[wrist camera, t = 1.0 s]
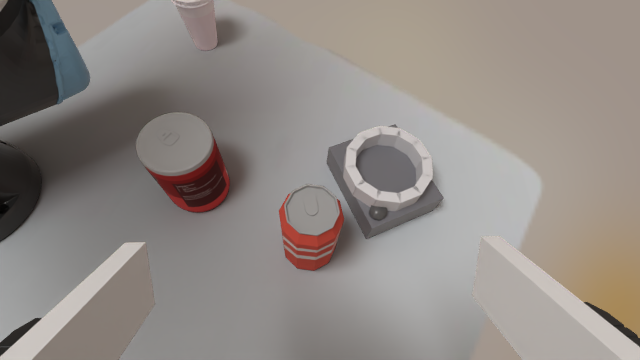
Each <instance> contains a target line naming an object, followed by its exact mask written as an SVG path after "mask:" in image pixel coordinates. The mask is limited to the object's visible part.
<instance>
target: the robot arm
mask: <svg viewBox="0 0 640 360" xmlns="http://www.w3.org/2000/svg"><path fill="white" fill-rule="evenodd" d="M89 83H90V74H89V71H88V69H87V67H86V65H85V63H84V61H83V59H82V57H81V55H80V53H79V51H78V49H77V47H76V45H75V43H74V41H73V40H72V38H71V36H70V34H69V32H68V31H67V29H66V28H65V26H64V23H63V21H62V19H61V18H60V16H59V13H58V12H57V10H56V8H55V6H54V4H53V2H52V1H51V0H0V126H2V125H4V124H7V123H9V122H12V121H15V120H17V119H20V118H22V117H25V116H28V115H30V114H33V113H35V112H38V111H40V110H43V109H46V108H48V107H51V106H53V105H56V104H60V103H62V102H63V100H65V99H67V98H69V97H71V96H73V95H75V94H77V93H79V92H81V91H83V90H85V89H86V88H87V86H88V85H89ZM40 189H41V174H40V171H39V168H38V166H37V164H36V163H35V162H34V160H33V159H32V158H30V157H29V156H28V155H27V154H25V153H24V152H23V151H21V150H20V149H19V148H17V147H15V146H14V145H12V144H10V143H7V142H4V141H1V140H0V241H1V240H2V239H4V238H5V237H7V236H8V235H9V234H11V233H12V232H13V231H14V230H15V229H16V228H17V227H19V226H20V224H21V223H22V222H23V221H24V220H25V219H26V218H27V216H28V215H29V214H30V212H31V211H32V209H33V207H34V206H35V204H36V202H37V199H38V197H39V194H40ZM472 296H473V298H474V299H475V300H476V302H477V303H478V304H479V305H480V307H481V308H482V309H483V310H484V312H485V313H486V314H487V316H488V317H489V318H490V319H491V321H492V322H493V323H494V324H495V326H496V327H497V328H498V330H499V331H500V332H501V333H502V335H503V336H504V337H505V339H506V340H507V341H508V342H509V344H510V345H511V346H512V347H513V349H514V350H515V351H516V352H517V354H518V355H519V356H520V358H521V359H522V360H640V338H638V336H637V335H636V334H635V333H634V332H632V331H631V330H630V329H628V328H625V327H624V325H623V324H622V323H620V322H619V321H618V320H617V319H615V318H614V317H613V316H611V315H610V314H609V313H607V312H605V311H603V310H602V309H599V308H598V307H596V306H594V305H592V304H590V303H588V302H582V301H581V300H580V299H578V298H577V297H576V296H575V295H573V294H572V293H571V292H569V291H568V290H567V289H566V288H565V287H563V286H562V285H561V284H559V283H558V282H557V281H556V280H554V279H553V278H552V277H551V276H549V275H548V274H547V273H546V272H544V271H543V270H542V269H540V268H539V267H538V266H537V265H535V264H534V263H533V262H532V261H530V260H529V259H528V258H527V257H525V256H524V255H523V254H522V253H520V252H519V251H518V250H517V249H515V248H514V247H513V246H511V245H510V244H509V243H508V242H506V241H505V240H504V239H503V238H501V237H500V236H481V239H480V246H479V253H478V260H477V267H476V273H475V280H474V287H473V294H472ZM154 305H155V301H154V295H153V288H152V281H151V274H150V268H149V261H148V254H147V248H146V242H130V243H124V244H123V245H122V246H121V247H120V248H119V249H118V250H116V251H115V252H114V253H113V254H112V255H111V256H110V257H109V258H108V259H107V260H106V261H104V262H103V263H102V264H101V265H100V266H99V267H98V268H97V269H96V270H95V271H93V272H92V273H91V274H90V275H89V276H88V277H87V278H86V279H85V280H84V281H83V282H81V283H80V284H79V285H78V286H77V287H76V288H75V289H74V290H73V291H72V292H70V293H69V294H68V295H67V296H66V297H65V298H64V299H63V300H62V301H61V302H60V303H58V304H57V305H56V306H55V307H54V308H53V309H52V310H51V311H50V312H49V313H47V314H46V315H45V316H44V317H43V318H35V319H33V320H32V321H30V322H28V323H27V324H25V325H23V326H21V327H20V328H18V329H16V330H14V331H13V332H12V333H11V334H10V335H9V336H7V337H6V338H5V339H4V340H3V341H2V342H0V360H118V359H119V358H120V356H121V355H122V353H123V352H124V350H125V349H126V347H127V346H128V344H129V343H130V341H131V340H132V338H133V337H134V335H135V334H136V332H137V331H138V329H139V328H140V326H141V325H142V323H143V322H144V320H145V319H146V317H147V316H148V314H149V313H150V311H151V310H152V308H153V306H154Z"/></svg>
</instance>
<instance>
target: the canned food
mask: <svg viewBox="0 0 640 360" xmlns="http://www.w3.org/2000/svg"><path fill="white" fill-rule="evenodd" d="M136 152H137V154H138V157H139V159H140V161H141V162H142V163H143V165H144V166H145V167H146V169H147V170H148V171H149V173H150V174H151V175H152V176H153V177H154V179H155V180H156V181H157V182H158V184H159V185H160V186H161V187H162V189H163V190H164V191H165V192H166V193H167V195H168V196H169V197H170V198H171V200H172V201H173V202H174V203H175V204H176V205H177V206H178V207H180V208H182V209H184V210H187V211H191V212H205V211H209V210H211V209H214V208H215V207H217V206H218V205H220V204H221V203H222V202H223V200H224V199H225V197H226V196H227V193H228V190H229V185H230V181H229V176H228V173H227V170H226V168H225V165H224V162H223V160H222V157H221V155H220V152H219V149H218V147H217V144H216V141H215V139H214V137H213V134H212V132H211V130H210V128H209V127H208V125H207V124H206V123H205V122H204V121H203V120H202V119H200V118H199V117H197V116H195V115H193V114H189V113H184V112H171V113H166V114H163V115H160V116H158V117H156V118H154V119H152V120H151V121H149V122H148V123H147V124H146V125H145V126H144V127H143V128H142V129H141V131H140V133H139V134H138V137H137V140H136Z"/></svg>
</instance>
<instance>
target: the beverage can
mask: <svg viewBox="0 0 640 360" xmlns="http://www.w3.org/2000/svg"><path fill="white" fill-rule="evenodd" d="M279 215H280V222H281V229H282V236H283V243H284V250H285V256H286V258H287V259H288V260H289V261H290V262H291V263H292V264H293V265H294V266H295V267H296V268H298V269H306V270H313V271H314V270H316V269H318V268H320V267H321V266H323V265H325V264H327V263H329V260H330V258H331V256H332V254H333V252H334V249H335V247H336V244H337V240H338V237H339V234H340V231H341V228H342V225H343V221H344V217H343V213H342V209H341V204H340V201H339V200H338V199H337V198H336V196H335V195H334V194H332V193H331V192H330V191H329V190H328V189H326V188H325V187H324V186H319V185H311V184H306V185H304V186H302V187H300V188H297V189H295V190H293V191H292V192H291V193H290V194H288V196H287V198H286V199H285V201H284V203H283V205H282V206H281V208H280V210H279Z"/></svg>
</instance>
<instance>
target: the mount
mask: <svg viewBox="0 0 640 360" xmlns="http://www.w3.org/2000/svg"><path fill="white" fill-rule="evenodd" d="M327 165H328V166H329V168H330V170H331V172H332V174H333V176H334V178H335V180H336V182H337V184H338V186H339V188H340V190H341V191H342V193H343V195H344V197H345V199H346V201H347V203H348V205H349V207H350V209H351V211H352V213H353V215H354V217H355V218H356V220H357V222H358V224H359V226H360V228H361V230H362V232H363V234H364V236H365V238H366V239H368V238H370V237H373V236H375V235H377V234H380V233H382V232H384V231H386V230H389V229H391V228H393V227H396V226H398V225H400V224H403V223H405V222H407V221H410V220H412V219H414V218H417V217H419V216H421V215H424V214H426V213H428V212H431V211H433V210H434V208H435V207H436V206H437V205H438V204H439V203H440V202H441V201H442V200H443V196H442V195H441V193H440V192H439V190H438V189H437V187H436V186H435V184H434V183H433V181H432V180H431V179H432V178H433V170H432V157H431V155H430V154H429V152H428V151H427V149H426V148H425V147H424V145H423V144H422V142H421V141H420V140H419V139H418V138H416V137H415V136H413V135H411V134H409V133H408V132H406V131H404V130H403V129H400V128H397V126H396V125H392V126H389V127H385V126H377V127H374V128H371V129H368V130H365V131H362V132H360V133H358V135H357V136H356V137H355V138H354V139H352V140H349V141H346V142H343V143H341V144H338V145H335V146H332V147H329V151H328V158H327Z"/></svg>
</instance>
